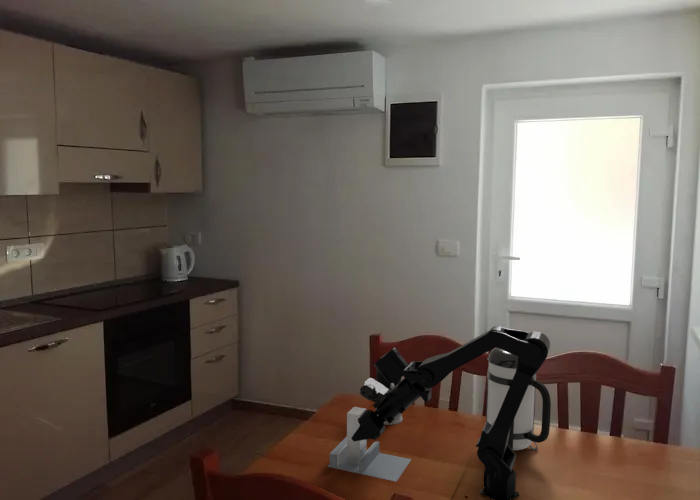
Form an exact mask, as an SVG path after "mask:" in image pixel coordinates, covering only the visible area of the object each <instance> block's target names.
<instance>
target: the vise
mask: <svg viewBox="0 0 700 500" xmlns="http://www.w3.org/2000/svg"><path fill="white" fill-rule="evenodd" d="M411 461H412V459H411V458H406V457H401V456H397V455H392V454H387V453H382V452H380V441H377V440H375V441H374V442H373V443H372V445H371V446H370V447H369V448H368V449H366V453H365V454H364V455H363V456H362V457H361V458H360V459H359V461H358V465H356V464H351V463H347V436H345V437H344V438H343V439H342V441H340V442H339V444H337V446H335V447H334V448H333V449H332V450H331V452H329V464H328V465H327V467H328V468H332V469H336V470H337V469H338V470H342V471H345V472H350V473H354V474H360V475H364V476H369V477H372V478H373V477H374V478H378V479H383V480H387V481H391V482H395V483H396V482H397V481H398V480H399V478H400V477H401V476H402V474H403V473H404V471H405V470H406V469H407V467H408V466H409V464H410V462H411Z"/></svg>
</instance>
